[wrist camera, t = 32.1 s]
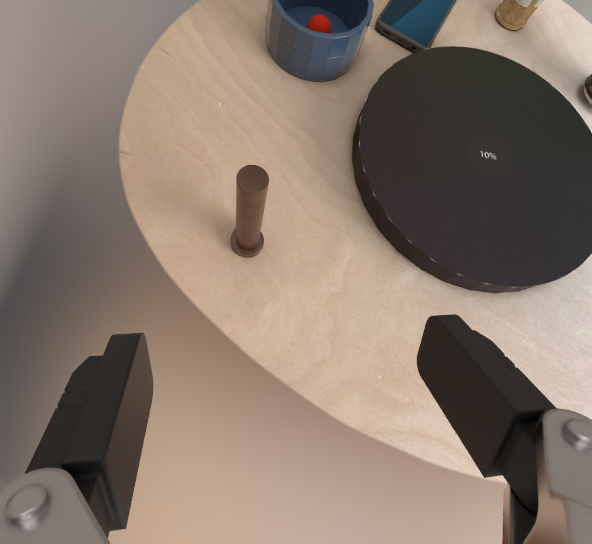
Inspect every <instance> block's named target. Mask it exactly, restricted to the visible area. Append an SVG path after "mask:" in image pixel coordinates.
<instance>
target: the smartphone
mask: <svg viewBox="0 0 592 544" xmlns="http://www.w3.org/2000/svg"><path fill="white" fill-rule="evenodd" d="M456 1H457V0H390V1H389V2H388V4H387V5H386V7H385V8H384V10H383V11H382V13H381V14H380V16H379V17H378V19H377V22H376V28H377V30H378V31H379V32H380V33H382V34H383V35H385V36H387V37H389V38H390V39H392V40H394V41H396V42H397V43H399V44H401V45H403V46H404V47H406V48H408V49H410V50H411V51H413V52H415V53H416V52H419V51H422V50H425V49H429V48H430V46H431V44H432V42H433V41H434V39H435V37H436V35H437V33H438V32H439V30H440V28H441V26H442V25H443V23H444V21H445V19H446V18H447V16H448V14H449V12H450V11H451V9H452V7H453V5H454V4H455V2H456Z"/></svg>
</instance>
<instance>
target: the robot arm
mask: <svg viewBox="0 0 592 544" xmlns="http://www.w3.org/2000/svg"><path fill="white" fill-rule="evenodd" d="M417 367H418V371H419V374H420V376H421V378H422V379H423V381H424V383H425V384H426V386H427V387H428V389H429V390H430V392H431V394H432V395H433V397H434V398H435V400H436V402H437V403H438V405H439V406H440V408H441V410H442V411H443V413H444V414H445V416H446V418H447V419H448V421H449V422H450V424H451V425H452V427H453V429H454V430H455V432H456V433H457V435H458V437H459V438H460V440H461V441H462V443H463V445H464V446H465V448H466V449H467V451H468V452H469V454H470V456H471V457H472V459H473V460H474V462H475V464H476V465H477V467H478V468H479V470H480V472H481V473H482V475H483V476H484V478H486V477H493V476H499V475H503V476H504V478H505V479H506V481H507V482H508V483H507V484H506V486H505V489H504V506H503V508H504V510H503V543H502V544H592V420H591V419H589V418H587V417H585V416H583V415H581V414H579V413H576V412H574V411H570V410H566V409H557V408H556V407H555V406H554V405H553V404H552V403H551V402H550V401H549V400H548V399H547V398H546V397H545V396H544V395H543V394H542V393H541V392H540V391H539V390H538V388H537V387H536V386H535V385H534V384H533V383H532V382H531V381H530V380H529V379H528V378H527V377H526V376H525V375H524V374H523V373H522V372H521V371H520V370H519V369H518V368H515V365H514V363H513V362H512V361H511V360H510V359H509V358H508V357H505V356H504V353H503V352H502V351H501V350H500V349H499V348H498V347H497V346H496V345H495V344H494V343H493V342H492V341H491V340H489V339H488V338H486V337H485V336H483V335H482V334H480V333H478V332H477V331H475V330H472V329H471V328H470V327H469V326H468V325H467V324H466V323H465V322H464V321H463V320H462V319H461V318H460V317H459V316H458V315H439V316H430V317H429V318H428V320H427V322H426V325H425V329H424V333H423V336H422V340H421V344H420V347H419V351H418V355H417ZM152 397H153V376H152V370H151V365H150V359H149V353H148V348H147V342H146V338H145V335H144V333H132V334H117V335H116V334H115V335H112V336H111V337H110V340H109V342H108V345H107V347H106V350H105V352H104V355H103V356H89V357H88V358H87V359H86V360H85V361H84V362H83V363H82V364H81V365H80V366H79V367H78V368H77V369H76V370H75V371H74V372H73V373H72V375H71V378H70V380H69V382H68V384H67V386H66V388H65V393H63V394H62V397H61V399H60V401H59V403H58V408H57V409H55V411H54V414H53V416H52V418H51V420H50V422H49V424H48V426H47V428H46V430H45V432H44V435H43V437H42V439H41V441H40V443H39V445H38V447H37V449H36V451H35V453H34V456H33V458H32V460H31V462H30V464H29V466H28V468H27V470H26V472H25V474H24V475H22V476H20V477H18V478H16V479H15V480H13V481H12V482H10V483H9V484H7V485H6V486H5V487H4V488H2V489H1V490H0V544H110V542H109V540H108V535H109V531H113V530H119V529H126V526H127V521H128V516H129V511H130V506H131V501H132V497H133V492H134V486H135V482H136V477H137V472H138V467H139V462H140V457H141V452H142V447H143V442H144V437H145V432H146V428H147V422H148V418H149V413H150V408H151V403H152Z"/></svg>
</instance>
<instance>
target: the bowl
mask: <svg viewBox="0 0 592 544" xmlns="http://www.w3.org/2000/svg"><path fill="white" fill-rule="evenodd" d="M373 6H374V3H373V0H269V2H268V14H267V25H266V42H267V47H268V50H269V52H270V54H271V56H272V57H273V59H274V60H275V61H276V63H277V64H278V65H279V66H280V67H282V68H283V69H284V70H285V71H287V72H288V73H290V74H292V75H294V76H296V77H299V78H301V79H305V80H309V81H329V80H333V79H336V78H338V77H340V76H342V75H344V74H345V73H346V72H347V71H348V70H349V69H350V68H351V67H352V65H353V63H354V61H355V59H356V57H357V55H358V53H359V50H360V47H361V45H362V42H363V39H364V37H365V34H366V31H367V29H368V26H369V23H370V21H371V18H372V13H373ZM318 14H321V15H324V16H326V17H327V18H328V20H329V21H330V24H331V32H330V34H329V33H322V32H315V31H313V30H311V29H308V28H307V25H308V22H309V20H310V19H311V18H312V17H313V16H315V15H318Z"/></svg>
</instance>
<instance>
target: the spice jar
mask: <svg viewBox="0 0 592 544" xmlns="http://www.w3.org/2000/svg"><path fill="white" fill-rule="evenodd" d="M543 1H544V0H503V2H502V3H501V4H500V5H499V6H498V8H497V9H496V18H497V19H498V21H499V22H500V23H501V24H502V25H503V26H504V27H506V28H508V29H511V30H518V29H520V28H522V27H523V26H524V25H525V24H526V22H527V20H528V19H529V18H530V16H531V15H532V14H533V13H534V11H535V10H536V9H537V8H538V6H539V5H540V4H541V3H542V2H543Z"/></svg>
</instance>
